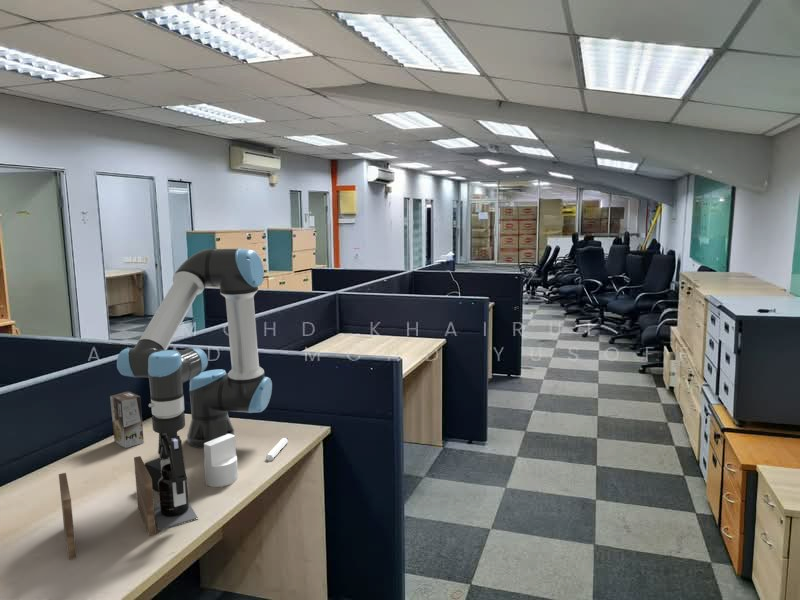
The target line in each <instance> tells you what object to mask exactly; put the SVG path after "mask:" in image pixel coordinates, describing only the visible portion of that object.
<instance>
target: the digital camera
mask: <svg viewBox="0 0 800 600" xmlns="http://www.w3.org/2000/svg"><path fill="white" fill-rule="evenodd" d="M160 460H162V459H160V457H158V458H155V459H152V460H149V461H147V462H144V464H145V466H146V468H147V470H148V472H149V474H150V476H151V478H152V488H153V491H155V492H157V493H158V494H159V488H158V482H159V479H160V478H161V477H162V475H161V461H160Z"/></svg>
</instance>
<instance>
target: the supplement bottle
mask: <svg viewBox="0 0 800 600" xmlns="http://www.w3.org/2000/svg"><path fill="white" fill-rule="evenodd" d="M161 471H162V473H161V475H162V477H161V478H160V479H159V482H158V488H159V493H158V497H159V503H160V510H161V514H162V515H164V516H167V517H174V516H178V515H181V514H183V513H185V512H186V511H187V510H188V508H189V504H190V501H189V486H188V479H187V480H185V493H186V504H183V505H180V506H176V507H174V499H173V485H172V483H171V482H170V481H171V480H173V475H172V470H171V465H170V464H166V465H164V466H163V467H162V468H161Z"/></svg>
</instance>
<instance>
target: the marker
mask: <svg viewBox="0 0 800 600" xmlns="http://www.w3.org/2000/svg"><path fill="white" fill-rule="evenodd" d="M288 443H289V439H288V437H282V438H281V439H280V440H279V442H278V443H276V445H274V446H273V448H272V449H271V450H270V451H269V452H268V454H266V457H265V459H266V460H267V461H271V460H272V461H273V460H274V459H275V458H276V457H277V455H278V454H279V453H280V452H281V451H282V450H283V449H284V448H285V446H286V445H287V444H288ZM282 448H283V449H282ZM281 449H282V450H281ZM280 450H281V451H280ZM274 457H275V458H274Z"/></svg>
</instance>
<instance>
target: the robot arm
mask: <svg viewBox="0 0 800 600" xmlns="http://www.w3.org/2000/svg"><path fill="white" fill-rule="evenodd" d="M264 275H265V270H264V265H263V261H262V259H261V257H260V255H259V254H258V253H257V251H255V250H253V249H247V248H246V249H244V248H206V249H202V250H200V251H198V252H196V253H194V254H192V255H191V256H190V257H189V258H187V259H186V260H185V261H184V262H183V263H182V264H180V266H179V267H178V268H177V270H176V271H175V273H174V274H173V276H172V285H171V286H170V288H169V289H168V291H167V293H166V294H165V296H164V298H163V299H162V302H161V303H160V305H159V306H158V308H157V309H156V312H155V313H154V315H153V317H152V318H151V320H150V321H149V322H148V325H147V326H146V327H145V329H144V331H143V333H142V335H141V336H140V338H139V340H138V341H137V343H136V344H135V346H134V347H129V348H124V349H122V350H121V351H120V352H119V353H118V356H117V358H116V368H117V371H118V372H119V373H120V375H122V376H125V377H129V378H135V379H136V378H148V381H149V389H150V391H149V392H150V396H149V397H150V403H149V404H148V407H149V408H151V414H152V417H151V424H152V431H153V432H155V433H157V434H158V447H157V453H158V455H159V458H160V459H162V460H160V461H161V468H162V467H163V466H164V465H166V464H170V465H171V470H172V475H173V480H171V481H170V482H171V483H172V485H173V499H174V507H176V506H180V505H183V504H186V493H185V480H187V481H188V477H187V472H186V465H185V460H184V454H183V453H184V452H183V445H182V439H181V438H180V436H181V435H178V432H179V431H181V430H183V429H185V427H186V417H185V416H186V414H185V412H184V411H185V395H184V387H183V386H184V383H186V382H188V381H189V389H188V390H189V399H190V411H191V414H190V415H191V420H190V424H189V427H188V431H187V435H186V438H187V444H188V445H189V446H191V447H194V448H198V449H199V448H203V449H204V443H206V442H208V441H211V440H214V439H216V438H219V437H221V436H224V435H226V434H233V435H235V429H234V426H233V423H232V421H231V419H230V417H229V412H234V413H236V412H237V413H249V414H253V413H262V412H263V411H264V410H266V408H267V407H268V405H269V403H270V400H271V396H272V392H273V391H272V390H273V382H272V380H271V378H270V377H268V376H265V370H264V368H262V367H261V366H260V363H259V362H260V361H259V351H258V336H257V322H256V310H255V300H254V299H255V295H256V294H257V292H258V291H259V287H260V286H262V284H263V282H264ZM211 286H213V287H215V286H216V287H219V293H220V295H221V296H222V297H224V298H225V306H226V307H225V309H226V317H227V328H228V329H227V331H228V339H229V340H228V341H229V353H230V363H231V369H230V370H229V371H228V373H227V372H226V370H225V369H217V368H216V369H210V370H206V369H207V367H208V364H209V359H208V355H207V353H206V352H205V351H204V350H203V349H202V348H199V347H197V346H196V347H195V346H193V347H188V348H185V349H181V350H179V349H168V348H169V346H170V344H171V342H172V341H173V339H174V337H175V335H176V334H177V331H178V330H179V329H180V326H181V324H182V323H183V322H184V319H185V317H186V315H187V314H188V312H189V310H190V308H191V306H192V305H193V304H194V301H195V299H196V297H197V296H198V295H201V294H202V293H203V291H204V290H205V289H206V288H207V287H211ZM205 370H206V371H205ZM161 473H162V471H161Z"/></svg>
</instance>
